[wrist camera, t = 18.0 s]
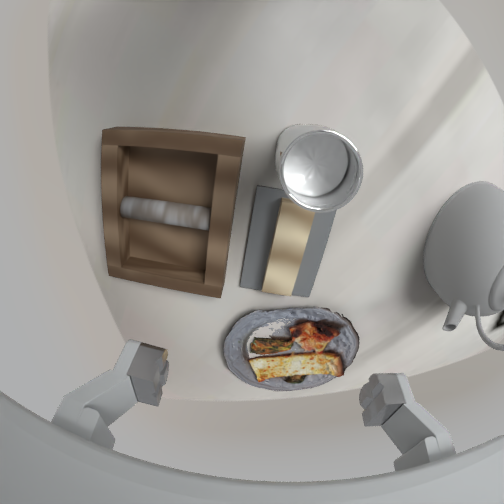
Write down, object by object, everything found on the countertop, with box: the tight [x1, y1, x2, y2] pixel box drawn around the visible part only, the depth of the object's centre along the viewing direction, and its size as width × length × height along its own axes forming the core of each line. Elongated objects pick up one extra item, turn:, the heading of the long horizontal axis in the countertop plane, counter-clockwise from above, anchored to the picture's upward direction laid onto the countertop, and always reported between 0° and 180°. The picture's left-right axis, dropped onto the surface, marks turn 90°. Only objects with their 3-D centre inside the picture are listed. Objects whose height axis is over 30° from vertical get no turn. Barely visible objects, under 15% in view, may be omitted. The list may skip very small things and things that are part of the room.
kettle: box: [423, 181, 504, 351], centre depth 28 cm, size 25×23×23 cm
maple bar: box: [262, 197, 315, 296], centre depth 39 cm, size 14×4×2 cm, turn 170°
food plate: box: [223, 307, 359, 391], centre depth 49 cm, size 25×23×4 cm
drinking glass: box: [275, 124, 363, 213], centre depth 26 cm, size 7×7×15 cm
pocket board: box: [101, 127, 246, 298], centre depth 36 cm, size 22×18×4 cm
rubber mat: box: [240, 185, 336, 297], centre depth 40 cm, size 16×11×1 cm
